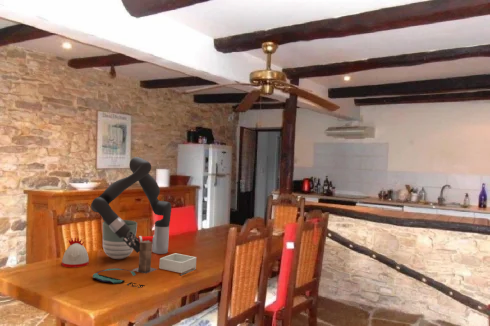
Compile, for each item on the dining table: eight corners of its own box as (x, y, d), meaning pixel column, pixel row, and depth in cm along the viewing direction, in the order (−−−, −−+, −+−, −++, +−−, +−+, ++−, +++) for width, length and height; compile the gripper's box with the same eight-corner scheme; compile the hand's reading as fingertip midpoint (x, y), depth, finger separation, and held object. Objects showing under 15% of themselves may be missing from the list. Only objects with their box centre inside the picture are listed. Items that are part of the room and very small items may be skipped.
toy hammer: (163, 251, 268) (163, 241, 268) (145, 252, 262) (146, 242, 262) (153, 243, 288) (154, 234, 288) (137, 244, 282) (137, 235, 282)
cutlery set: (111, 270, 219) (112, 265, 219) (158, 280, 208) (159, 276, 208) (85, 280, 201) (85, 275, 200) (135, 292, 190) (135, 287, 190)
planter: (125, 252, 256) (127, 218, 256) (141, 259, 242) (143, 224, 242) (94, 256, 242) (96, 221, 242) (110, 264, 228) (112, 226, 228)
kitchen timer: (64, 260, 231) (65, 234, 230) (89, 260, 234) (91, 234, 234) (59, 267, 217) (61, 240, 217) (86, 267, 221) (88, 240, 220)
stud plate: (130, 272, 216) (131, 262, 215) (142, 268, 225) (143, 258, 224) (145, 276, 211) (146, 266, 211) (157, 271, 220) (158, 262, 220)
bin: (159, 271, 222) (159, 258, 222) (174, 265, 235) (175, 253, 235) (181, 275, 216) (182, 262, 216) (195, 269, 229) (196, 257, 229)
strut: (138, 269, 217) (140, 242, 217) (143, 267, 221) (145, 240, 221) (145, 271, 215) (146, 243, 215) (150, 269, 219) (152, 241, 219)
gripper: (122, 225, 209) (143, 248, 211) (127, 220, 223) (147, 241, 225) (111, 235, 209) (132, 257, 210) (117, 229, 223) (137, 251, 224)
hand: (140, 249), depth 217 cm, fingers open, 8 cm apart
